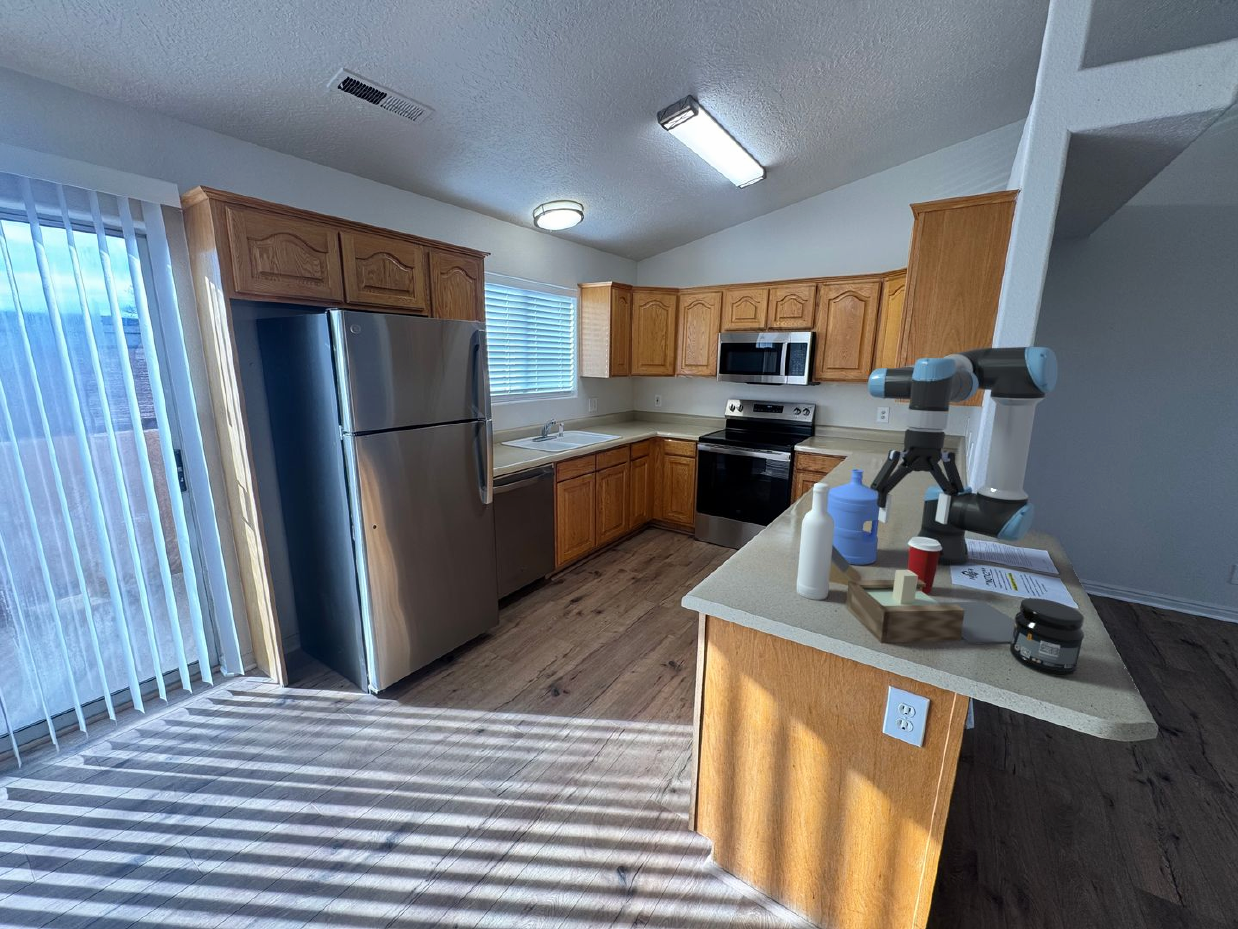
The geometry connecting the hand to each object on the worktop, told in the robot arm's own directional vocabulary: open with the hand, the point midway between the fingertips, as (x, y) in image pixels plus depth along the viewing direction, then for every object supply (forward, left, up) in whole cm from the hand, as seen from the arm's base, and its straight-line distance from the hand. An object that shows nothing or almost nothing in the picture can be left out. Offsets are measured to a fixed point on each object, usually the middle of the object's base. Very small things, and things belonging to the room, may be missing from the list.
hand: (912, 521), depth 111 cm
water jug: (-8, -40, -25) cm, 47 cm away
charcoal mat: (-18, +1, -25) cm, 31 cm away
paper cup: (-15, -16, -25) cm, 33 cm away
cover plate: (+1, +1, -20) cm, 20 cm away
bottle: (+15, -15, -25) cm, 32 cm away
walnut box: (+1, +1, -25) cm, 25 cm away
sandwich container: (+5, -25, -25) cm, 36 cm away
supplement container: (-19, +17, -25) cm, 36 cm away
